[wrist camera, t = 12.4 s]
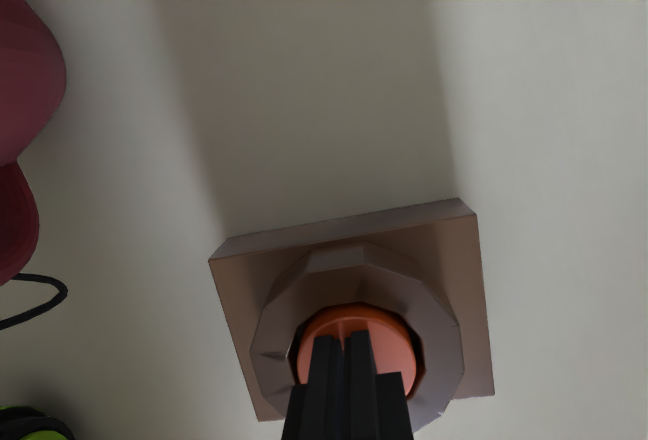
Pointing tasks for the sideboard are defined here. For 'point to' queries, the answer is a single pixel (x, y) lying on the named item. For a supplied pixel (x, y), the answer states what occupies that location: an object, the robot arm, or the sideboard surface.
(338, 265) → the button block
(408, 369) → the button
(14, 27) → the mug
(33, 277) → the headphones
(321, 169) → the sideboard surface
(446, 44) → the sideboard surface
